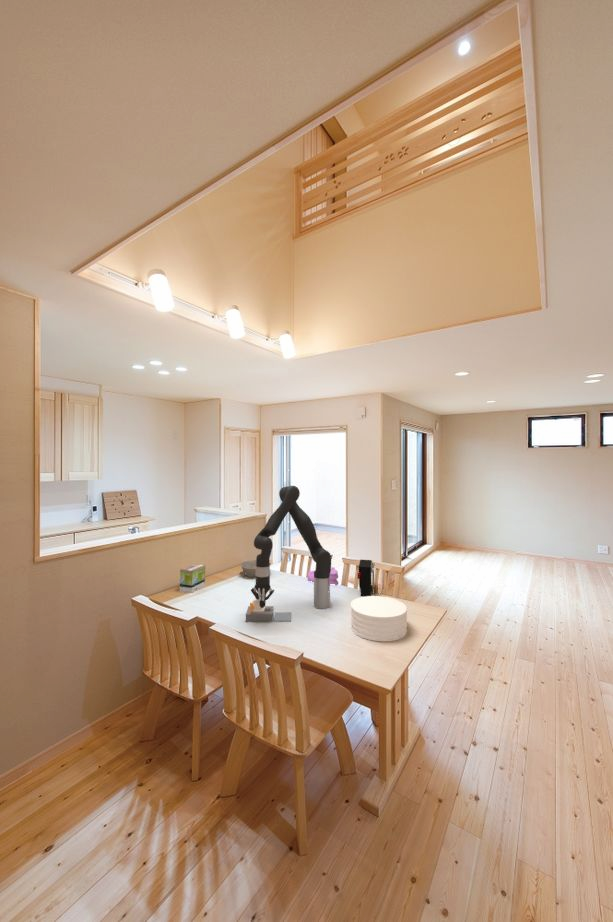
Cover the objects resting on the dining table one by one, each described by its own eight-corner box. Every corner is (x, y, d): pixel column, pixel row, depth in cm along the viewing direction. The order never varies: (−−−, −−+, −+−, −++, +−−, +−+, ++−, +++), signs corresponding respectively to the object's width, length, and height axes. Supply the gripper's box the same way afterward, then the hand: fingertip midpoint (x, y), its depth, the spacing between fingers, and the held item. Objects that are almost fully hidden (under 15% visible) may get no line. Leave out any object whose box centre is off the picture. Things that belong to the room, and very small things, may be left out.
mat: (291, 613, 206) (291, 612, 206) (291, 621, 195) (291, 620, 195) (275, 613, 206) (275, 612, 206) (274, 621, 195) (274, 620, 195)
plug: (265, 614, 204) (265, 594, 204) (264, 620, 197) (264, 599, 197) (252, 615, 203) (252, 594, 203) (250, 620, 196) (250, 599, 196)
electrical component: (374, 600, 226) (374, 567, 226) (357, 598, 228) (357, 566, 228) (374, 590, 243) (374, 560, 243) (359, 589, 245) (359, 559, 245)
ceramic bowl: (259, 571, 287) (259, 558, 287) (276, 578, 269) (276, 564, 269) (234, 576, 272) (234, 563, 272) (250, 584, 255) (250, 570, 255)
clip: (255, 605, 206) (255, 595, 206) (252, 614, 194) (252, 603, 194) (252, 605, 206) (252, 595, 206) (249, 614, 194) (249, 603, 194)
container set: (303, 582, 261) (303, 563, 261) (318, 577, 271) (318, 559, 271) (329, 591, 242) (329, 571, 242) (344, 586, 252) (344, 566, 253)
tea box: (192, 593, 237) (192, 570, 237) (179, 591, 240) (179, 569, 240) (205, 586, 251) (205, 564, 251) (193, 584, 254) (193, 563, 255)
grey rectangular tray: (273, 613, 206) (273, 605, 206) (272, 621, 195) (272, 613, 195) (248, 613, 205) (248, 605, 205) (245, 621, 194) (245, 613, 194)
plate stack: (368, 612, 207) (368, 592, 207) (415, 626, 190) (415, 604, 190) (339, 630, 186) (340, 607, 186) (390, 647, 168) (390, 622, 168)
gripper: (276, 573, 197) (276, 605, 197) (253, 571, 200) (253, 603, 200) (272, 577, 190) (271, 611, 189) (248, 575, 193) (247, 608, 193)
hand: (262, 607), depth 195 cm, fingers closed
